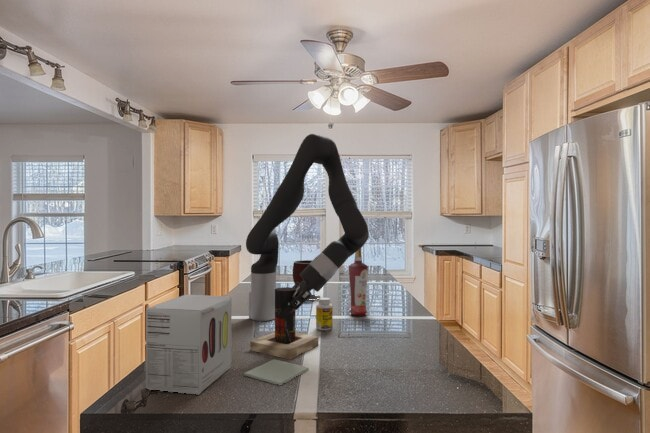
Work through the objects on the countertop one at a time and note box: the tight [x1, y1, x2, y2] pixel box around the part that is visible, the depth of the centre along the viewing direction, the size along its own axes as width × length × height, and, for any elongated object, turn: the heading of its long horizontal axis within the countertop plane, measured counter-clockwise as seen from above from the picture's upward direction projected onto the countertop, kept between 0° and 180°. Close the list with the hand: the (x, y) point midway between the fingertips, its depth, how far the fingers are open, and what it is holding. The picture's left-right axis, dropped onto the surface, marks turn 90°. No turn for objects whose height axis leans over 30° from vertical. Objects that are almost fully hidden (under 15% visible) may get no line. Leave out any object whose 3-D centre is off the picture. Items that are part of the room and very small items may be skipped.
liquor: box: [348, 246, 369, 318], centre depth 156 cm, size 7×7×28 cm
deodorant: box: [274, 286, 296, 345], centre depth 117 cm, size 6×6×15 cm
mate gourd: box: [292, 259, 321, 300], centre depth 189 cm, size 16×14×20 cm
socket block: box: [249, 331, 319, 360], centre depth 117 cm, size 14×14×2 cm
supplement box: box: [145, 294, 233, 396], centre depth 95 cm, size 17×13×18 cm
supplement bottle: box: [315, 297, 334, 331], centre depth 137 cm, size 6×6×10 cm
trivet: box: [243, 358, 309, 386], centre depth 98 cm, size 11×11×1 cm
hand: (279, 314), depth 116 cm, fingers closed on deodorant, 6 cm apart
